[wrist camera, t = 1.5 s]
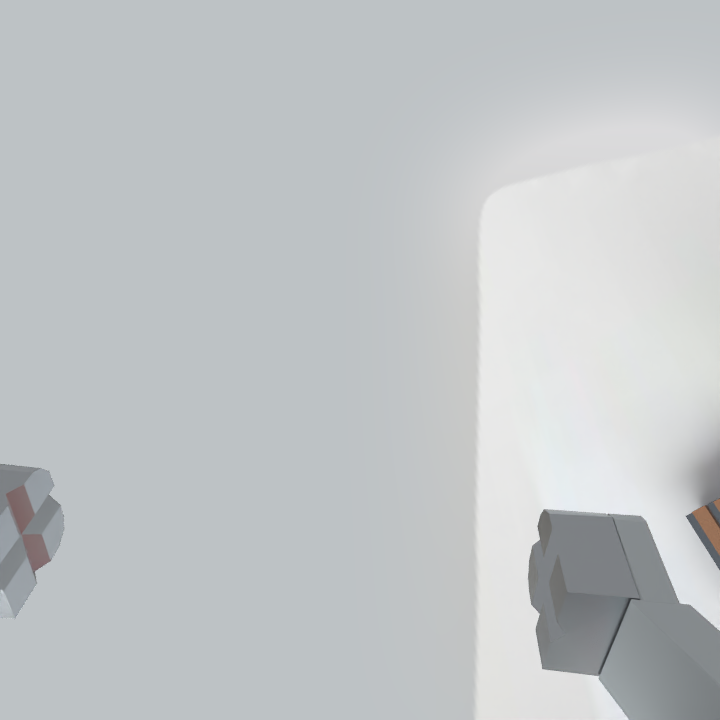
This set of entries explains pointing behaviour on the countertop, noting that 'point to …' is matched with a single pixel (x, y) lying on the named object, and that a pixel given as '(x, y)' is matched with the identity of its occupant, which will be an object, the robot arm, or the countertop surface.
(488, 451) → the countertop surface
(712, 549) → the grey slotted board
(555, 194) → the countertop surface
